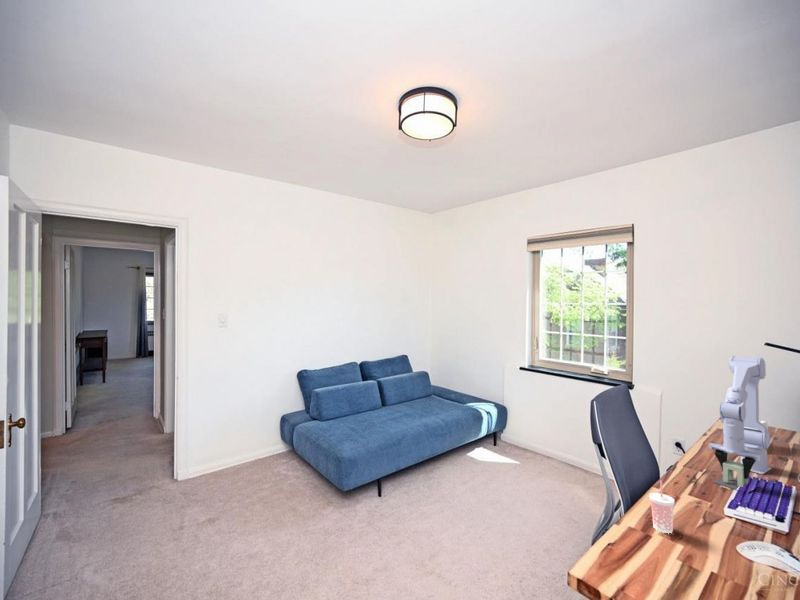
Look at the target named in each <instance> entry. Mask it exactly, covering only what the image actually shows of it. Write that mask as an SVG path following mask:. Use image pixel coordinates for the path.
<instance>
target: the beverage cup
mask: <svg viewBox="0 0 800 600" xmlns="http://www.w3.org/2000/svg"><path fill="white" fill-rule="evenodd" d="M659 486H660V487H659V488H660V489H659V490H660V492H650V493H649V494H648V495H649V497H648V498H649V501H650V506H651V508H650V509H651V516H652V525H653V529H654V528H655V529H656V530H655V529H654V530H655V531H657V530H658V531H660V532H659V533H661V532H662V533H661V534H664V533H668V534H667V535H670V534H669V533H671V534H673V533H672V532H674V531H673V529H674V505H675V503H676V502H675V499H674V498H673V497H671V496H670V495H668V494H664V493H663V480H662V479H659ZM658 531H657V532H658Z"/></svg>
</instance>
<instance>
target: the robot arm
mask: <svg viewBox="0 0 800 600" xmlns="http://www.w3.org/2000/svg"><path fill="white" fill-rule="evenodd" d="M728 366H729V370H730V371H731V374H733V380H732V386H730V387H728V388H727V390H726V394H725V398H724V402H723V403H722V402H721V403H720V404H719V416H720V421H721V424H722V431H723V432H722V433H723V434H722V435H723V439H722V440H723V444H718V443H715V442H714V443H713V442H710V443H708V449H709V450H711V451H715V452H714V456H715V457H716V459H717V460H718V462H719V465H720V467H721V471H722V472H723V463H724V462H726V461H727V460H728V454H730V455H735V456H738V457H740V463H742V464H743V467H744V478H745V479H748V480H749V478H750V473H751V472H753V473H756V474H758V475H759V474H760V475H765V474H766V473H767V472H769V471H770V470H772V467H770V466H769V464H768V463H769V462H768V461H769V460H768V451H767V449H768V448H769V447H770V445H771V436H770V435H771V434H770V430H769V427H768V428H767V427H766V426H765V425H763V424H762V423H760V418H759V417H760V409H759V407H760V406H759V405H760V404H759V403H760V402H759V396H760V395H759V383H760V380H764V379H766V361H765V359H764V358H763V357H748V356H736V355H735V356H734V355H731V356H730V358H729V360H728ZM744 427H747V428H744ZM748 428H752V429H748ZM754 429H758V430H754ZM759 430H760V431H759Z"/></svg>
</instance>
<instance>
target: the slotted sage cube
mask: <svg viewBox="0 0 800 600" xmlns="http://www.w3.org/2000/svg"><path fill="white" fill-rule="evenodd" d="M734 472H737V475H736V476H737V477H736V479H737V486H740V487H744V484H748V482H749V478H748V479H745V478H744V467H743V464H742V463H741V462H738V461H734V460H732V459H731V460H730V459H727V461H726V462H724V463H723V471H722V476H723V481H724V482H727V483H728V482H729V479H731V480H733V479H734V477H735V476H734V475H735V474H734Z"/></svg>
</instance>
